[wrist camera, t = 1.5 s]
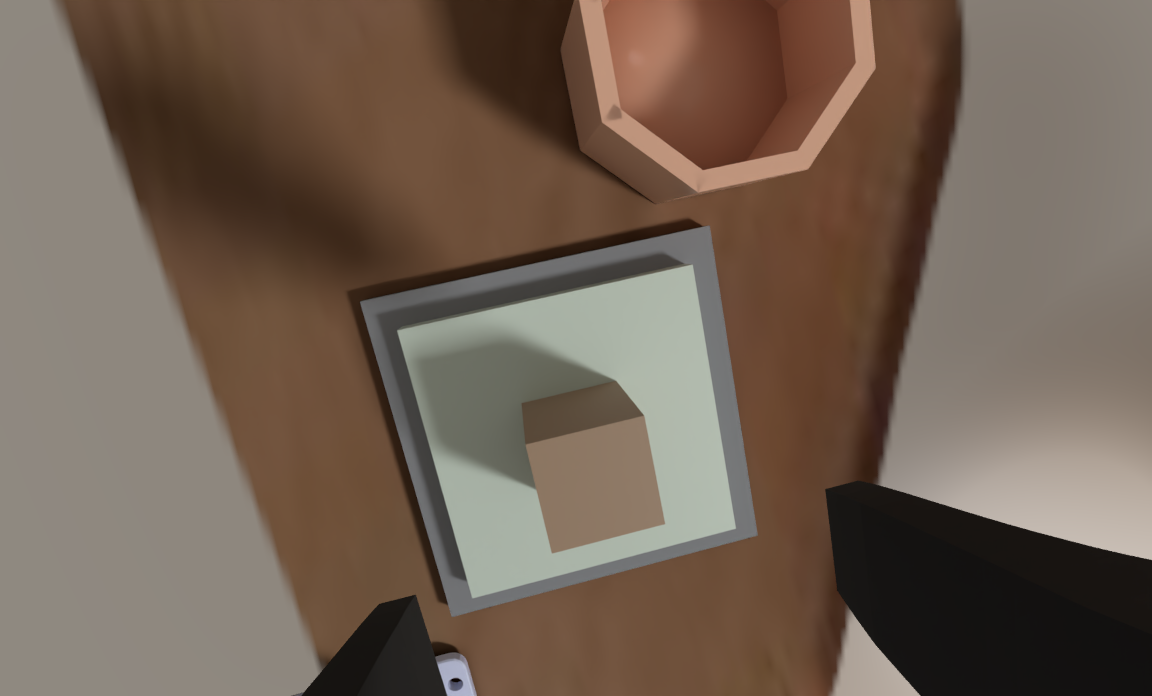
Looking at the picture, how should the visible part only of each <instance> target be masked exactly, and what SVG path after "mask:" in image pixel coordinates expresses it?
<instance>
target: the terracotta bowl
mask: <svg viewBox="0 0 1152 696" xmlns="http://www.w3.org/2000/svg"><path fill="white" fill-rule="evenodd" d="M560 51H561V56H562V61H563V66H564V71H565V76H566V81H567V87H568V92H569V97H570V102H571V107H572V112H573V117H574V122H575V127H576V132H577V137H578V142H579V147H580V151H582V152H583V153H584V154H586V155H587V156H589V157H590V158H592V159H593V160H594V161H596V162H597V163H599V164H600V165H601V166H603V167H604V168H606V169H607V170H608V171H610V172H611V173H613V174H614V175H615V176H617V177H618V178H620V179H621V180H622V181H624V182H625V183H627V184H628V185H630V186H631V187H632V188H634V189H635V190H637V191H638V192H639V193H641V194H642V195H644V196H645V197H646V198H648V199H649V200H651V201H652V202H653V203H655V204H658V203H663V202H668V201H673V200H677V199H682V198H687V197H691V196H696V195H701V194H705V193H710V192H715V191H720V190H724V189H729V188H734V187H738V186H743V185H747V184H751V183H755V182H759V181H763V180H767V179H771V178H775V177H779V176H783V175H787V174H791V173H795V172H799V171H803V170H807V169H808V168H809V167H810V165H811V164H812V162H813V161H814V159H815V158H816V156H817V155H818V153H819V152H820V150H821V149H822V147H823V146H824V144H825V143H826V141H827V140H828V138H829V137H830V135H831V134H832V132H833V131H834V129H835V128H836V126H837V125H838V123H839V122H840V120H841V119H842V117H843V116H844V114H845V113H846V111H847V110H848V108H849V107H850V106H851V104H852V103H853V101H854V100H855V98H856V97H857V95H858V94H859V92H860V91H861V89H862V88H863V86H864V85H865V83H866V82H867V80H868V79H869V77H870V76H871V74H872V73H873V71H874V70H875V68H876V67H875V56H874V45H873V34H872V22H871V11H870V0H574V2H573V6H572V9H571V13H570V17H569V20H568V24H567V27H566V31H565V35H564V38H563V42H562V45H561V49H560Z"/></svg>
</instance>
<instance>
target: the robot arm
mask: <svg viewBox="0 0 1152 696" xmlns="http://www.w3.org/2000/svg"><path fill="white" fill-rule="evenodd" d="M825 490H826V499H827V507H828V515H829V524H830V532H831V541H832V549H833V557H834V566H835V574H836V583H837V591H838V592H839V594H840V595H841V597H842V598H843V599H844V601H845V602H846V604H847V605H848V607H849V608H850V610H851V611H852V613H853V614H854V616H855V617H856V619H857V620H858V621H859V623H860V624H861V625H862V627H863V628H864V630H865V631H866V632H867V634H868V635H869V636H870V638H871V639H872V641H873V642H874V643H875V645H876V646H877V647H878V648H879V649H880V650H881V651H882V653H883V654H884V655H885V656H886V657H887V658H888V660H889V661H890V662H891V663H892V664H893V665H894V666H895V667H896V668H897V670H898V671H899V672H900V673H901V674H902V675H903V676H904V678H905V679H906V680H907V681H908V682H909V683H910V684H911V686H912V687H913V688H914V689H915V690H916V691H917V692H918V693H919V694H920V695H921V696H1152V560H1149V559H1144V558H1139V557H1135V556H1130V555H1125V554H1121V553H1117V552H1112V551H1108V550H1103V549H1099V548H1095V547H1091V546H1087V545H1083V544H1080V543H1076V542H1071V541H1068V540H1064V539H1060V538H1057V537H1053V536H1049V535H1045V534H1041V533H1037V532H1034V531H1030V530H1027V529H1023V528H1020V527H1016V526H1012V525H1008V524H1005V523H1002V522H998V521H995V520H992V519H988V518H985V517H982V516H978V515H975V514H972V513H968V512H965V511H962V510H958V509H955V508H952V507H949V506H946V505H942V504H939V503H936V502H932V501H929V500H926V499H923V498H920V497H916V496H913V495H910V494H906V493H903V492H900V491H897V490H893V489H889V488H886V487H883V486H879V485H875V484H871V483H866V482H862V481H855V482H852V483H848V484H844V485H840V486H836V487H832V488H828V489H825ZM453 678H459V679H461V681H460V682H453V681H451V679H453ZM293 696H477V694H476V691H475V687H474V684H473V681H472V677H471V674H470V670H469V667H468V663H467V660H466V659H465V657H464V656H463V655H461V654H459V653H455V652H453V653H447V654H443V655H440V656H436V657H435V655H434V652H433V648H432V645H431V642H430V639H429V636H428V632H427V629H426V626H425V623H424V620H423V617H422V613H421V610H420V607H419V604H418V601H417V597H416V595H413V596H409V597H405V598H401V599H397V600H393V601H389V602H385V603H382V604H379V605H378V606H377V607H376V608H375V609H374V610H373V611H372V612H371V613H370V615H369V616H368V617H367V618H366V619H365V620H364V621H363V623H362V624H361V625H360V626H359V627H358V629H357V630H356V631H355V632H354V633H353V634H352V636H351V637H350V638H349V639H348V641H347V642H346V643H345V644H344V645H343V647H342V648H341V649H340V650H339V651H338V653H337V654H336V655H335V656H334V657H333V659H332V660H331V661H330V662H329V663H328V665H327V666H326V667H325V668H324V669H323V670H322V672H321V673H320V674H319V675H318V677H317V678H316V679H315V680H314V681H313V682H312V684H311V685H310V686H309V687H308V688H307V689H306V691H305V692H304V693H300V694H297V695H293Z"/></svg>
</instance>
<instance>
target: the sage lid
mask: <svg viewBox="0 0 1152 696" xmlns="http://www.w3.org/2000/svg"><path fill="white" fill-rule="evenodd" d="M397 332H398V336H399V339H400V343H401V346H402V350H403V353H404V357H405V360H406V364H407V368H408V371H409V375H410V378H411V382H412V385H413V389H414V393H415V396H416V400H417V403H418V407H419V410H420V414H421V417H422V421H423V425H424V428H425V432H426V435H427V439H428V442H429V446H430V449H431V453H432V457H433V460H434V464H435V467H436V471H437V474H438V478H439V482H440V485H441V489H442V492H443V496H444V499H445V503H446V506H447V510H448V514H449V517H450V521H451V524H452V528H453V531H454V535H455V538H456V542H457V546H458V549H459V553H460V556H461V560H462V563H463V567H464V570H465V574H466V578H467V581H468V585H469V588H470V592H471V595H472V598H476V597H480V596H484V595H487V594H491V593H495V592H499V591H503V590H506V589H510V588H514V587H518V586H521V585H525V584H529V583H533V582H537V581H540V580H544V579H548V578H552V577H555V576H559V575H563V574H567V573H570V572H574V571H578V570H582V569H586V568H589V567H593V566H597V565H601V564H604V563H608V562H612V561H616V560H620V559H623V558H627V557H631V556H635V555H638V554H642V553H646V552H650V551H654V550H657V549H661V548H665V547H669V546H672V545H676V544H680V543H684V542H687V541H691V540H695V539H699V538H703V537H706V536H710V535H714V534H718V533H721V532H725V531H729V530H733V529H736V526H735V520H734V514H733V508H732V502H731V495H730V489H729V483H728V477H727V471H726V465H725V459H724V453H723V447H722V440H721V434H720V428H719V422H718V416H717V410H716V404H715V398H714V392H713V385H712V379H711V373H710V367H709V361H708V355H707V349H706V343H705V337H704V330H703V324H702V318H701V312H700V306H699V300H698V294H697V288H696V282H695V275H694V269H693V265H692V264H681V265H676V266H672V267H667V268H663V269H658V270H654V271H649V272H645V273H640V274H636V275H631V276H627V277H622V278H618V279H613V280H609V281H604V282H600V283H595V284H591V285H587V286H582V287H578V288H573V289H569V290H564V291H560V292H555V293H551V294H546V295H542V296H537V297H533V298H528V299H524V300H519V301H515V302H510V303H506V304H501V305H497V306H492V307H488V308H483V309H479V310H474V311H470V312H465V313H461V314H456V315H452V316H447V317H443V318H438V319H434V320H429V321H425V322H420V323H416V324H411V325H407V326H402V327H401V328H400V329H398V330H397Z"/></svg>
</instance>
